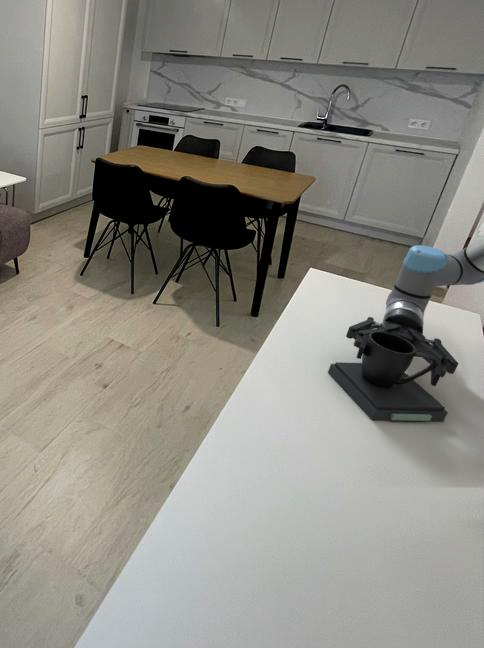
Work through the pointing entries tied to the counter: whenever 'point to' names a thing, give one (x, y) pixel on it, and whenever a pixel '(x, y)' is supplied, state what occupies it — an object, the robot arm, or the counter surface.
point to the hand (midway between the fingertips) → (396, 366)
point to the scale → (387, 396)
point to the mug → (390, 360)
